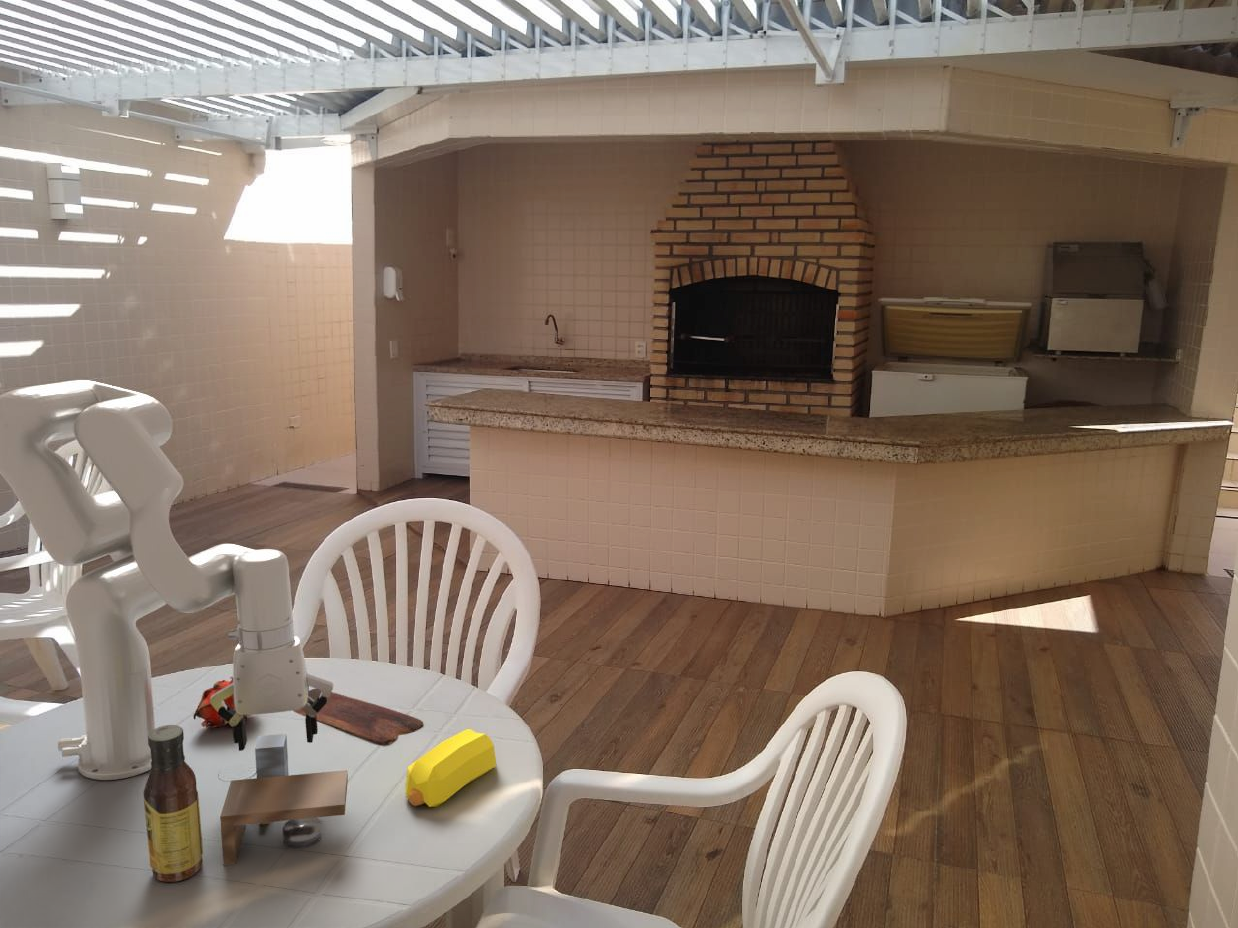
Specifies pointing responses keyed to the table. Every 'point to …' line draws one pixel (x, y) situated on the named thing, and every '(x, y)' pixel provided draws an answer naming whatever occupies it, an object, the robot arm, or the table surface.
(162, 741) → the sauce bottle
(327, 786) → the walnut shelf
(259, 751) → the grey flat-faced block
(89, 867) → the table surface
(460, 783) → the yellow faceted part
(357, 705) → the wooden tablet
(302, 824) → the steel token
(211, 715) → the dragon fruit
